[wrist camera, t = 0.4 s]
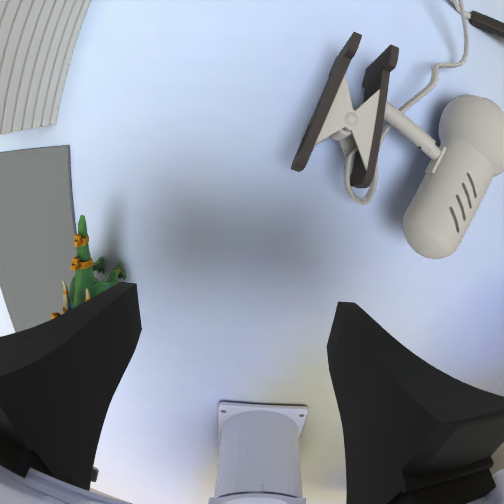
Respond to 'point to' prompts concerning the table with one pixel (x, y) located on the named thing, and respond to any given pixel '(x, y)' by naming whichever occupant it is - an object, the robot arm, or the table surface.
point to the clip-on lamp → (442, 158)
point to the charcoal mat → (35, 233)
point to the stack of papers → (35, 59)
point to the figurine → (85, 274)
